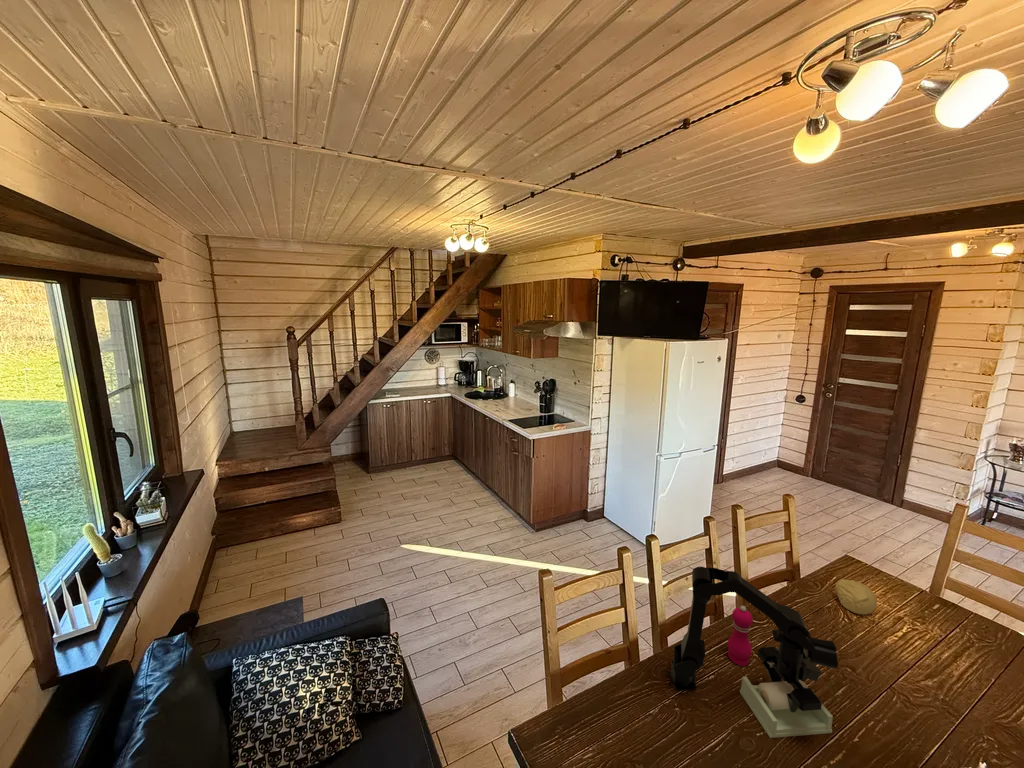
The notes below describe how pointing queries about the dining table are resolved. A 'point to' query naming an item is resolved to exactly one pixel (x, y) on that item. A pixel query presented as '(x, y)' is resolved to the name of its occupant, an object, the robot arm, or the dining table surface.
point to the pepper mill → (740, 637)
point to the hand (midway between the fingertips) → (784, 700)
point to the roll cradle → (785, 716)
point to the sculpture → (856, 596)
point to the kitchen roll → (776, 694)
